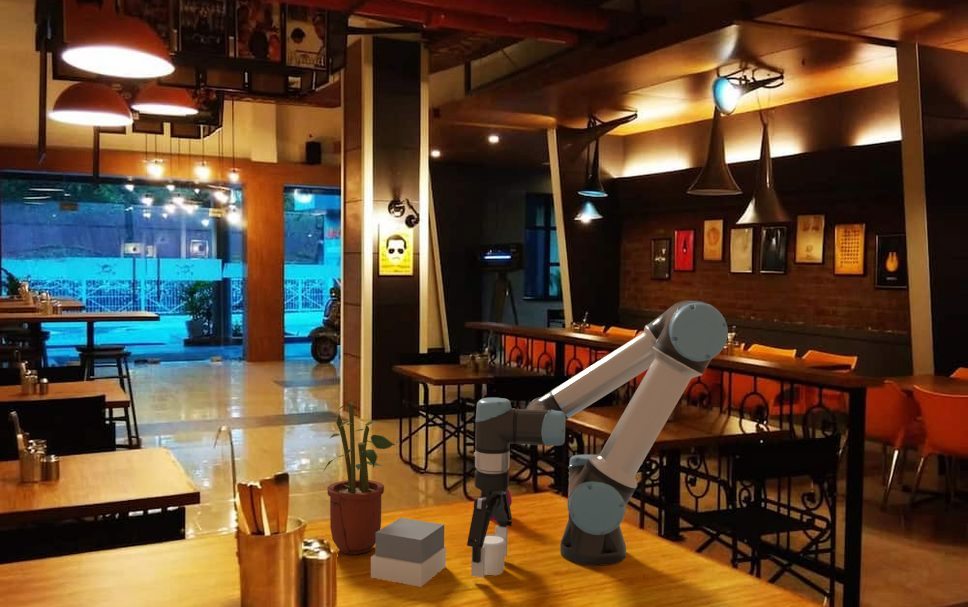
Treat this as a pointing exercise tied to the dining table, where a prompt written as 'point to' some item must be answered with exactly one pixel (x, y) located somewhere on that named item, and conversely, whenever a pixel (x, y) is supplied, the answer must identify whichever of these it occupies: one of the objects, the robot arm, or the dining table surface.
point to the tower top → (409, 540)
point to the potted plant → (356, 494)
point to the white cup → (494, 554)
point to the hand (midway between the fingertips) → (489, 565)
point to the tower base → (408, 569)
